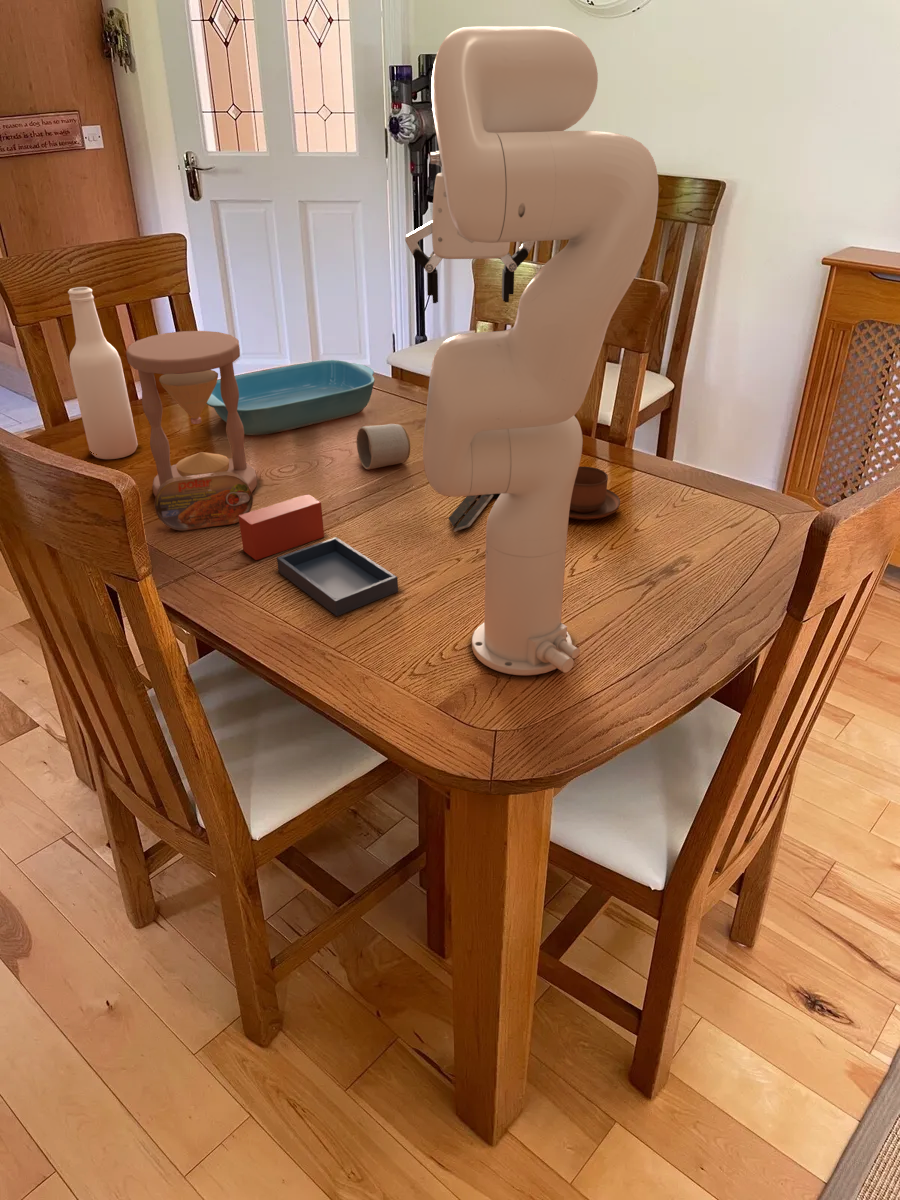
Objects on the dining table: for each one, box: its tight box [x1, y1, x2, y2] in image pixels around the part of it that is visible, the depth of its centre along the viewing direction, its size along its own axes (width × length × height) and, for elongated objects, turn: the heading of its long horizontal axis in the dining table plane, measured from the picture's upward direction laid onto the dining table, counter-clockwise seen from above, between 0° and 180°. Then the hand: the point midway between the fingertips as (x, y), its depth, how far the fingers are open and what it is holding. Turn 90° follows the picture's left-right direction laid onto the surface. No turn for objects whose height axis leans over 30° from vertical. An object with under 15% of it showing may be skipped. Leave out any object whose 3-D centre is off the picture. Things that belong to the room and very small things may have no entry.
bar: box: [238, 493, 325, 561], centre depth 135 cm, size 4×12×6 cm, turn 129°
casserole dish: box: [206, 359, 375, 436], centre depth 185 cm, size 37×22×7 cm, turn 123°
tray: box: [276, 536, 399, 617], centre depth 126 cm, size 16×10×2 cm, turn 39°
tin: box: [153, 471, 254, 532], centre depth 141 cm, size 15×3×8 cm, turn 105°
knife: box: [448, 493, 501, 532], centre depth 149 cm, size 25×6×1 cm, turn 154°
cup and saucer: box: [569, 466, 621, 521], centre depth 145 cm, size 12×12×6 cm
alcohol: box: [67, 286, 139, 460], centre depth 162 cm, size 9×9×30 cm
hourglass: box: [125, 330, 258, 497], centre depth 148 cm, size 18×18×25 cm
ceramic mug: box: [355, 423, 411, 470], centre depth 162 cm, size 11×8×8 cm
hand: (470, 300), depth 121 cm, fingers open, 9 cm apart
